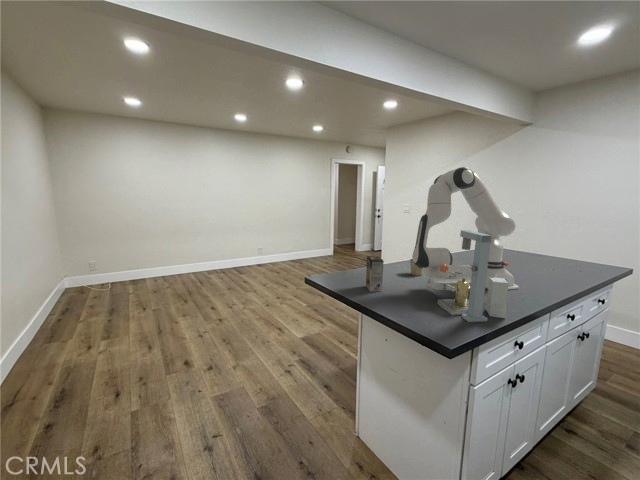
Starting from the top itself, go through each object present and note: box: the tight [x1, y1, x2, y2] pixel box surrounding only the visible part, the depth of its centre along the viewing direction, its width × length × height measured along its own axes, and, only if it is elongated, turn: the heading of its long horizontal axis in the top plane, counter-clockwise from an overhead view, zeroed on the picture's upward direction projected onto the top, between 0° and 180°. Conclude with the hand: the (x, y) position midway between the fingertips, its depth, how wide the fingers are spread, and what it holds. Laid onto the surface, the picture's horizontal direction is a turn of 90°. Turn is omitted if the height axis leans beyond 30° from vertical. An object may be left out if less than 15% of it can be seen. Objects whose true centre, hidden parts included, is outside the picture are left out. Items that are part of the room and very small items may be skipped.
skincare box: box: [485, 277, 509, 319], centre depth 123 cm, size 8×6×15 cm
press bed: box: [437, 298, 485, 316], centre depth 129 cm, size 14×12×2 cm
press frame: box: [459, 229, 491, 323], centre depth 121 cm, size 8×15×34 cm, turn 7°
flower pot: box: [409, 258, 424, 277], centre depth 180 cm, size 9×9×9 cm
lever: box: [439, 264, 477, 273], centre depth 114 cm, size 14×3×3 cm, turn 97°
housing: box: [454, 278, 469, 306], centre depth 128 cm, size 5×5×12 cm
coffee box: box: [365, 255, 384, 292], centre depth 151 cm, size 9×6×16 cm
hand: (462, 289), depth 127 cm, fingers open, 5 cm apart
